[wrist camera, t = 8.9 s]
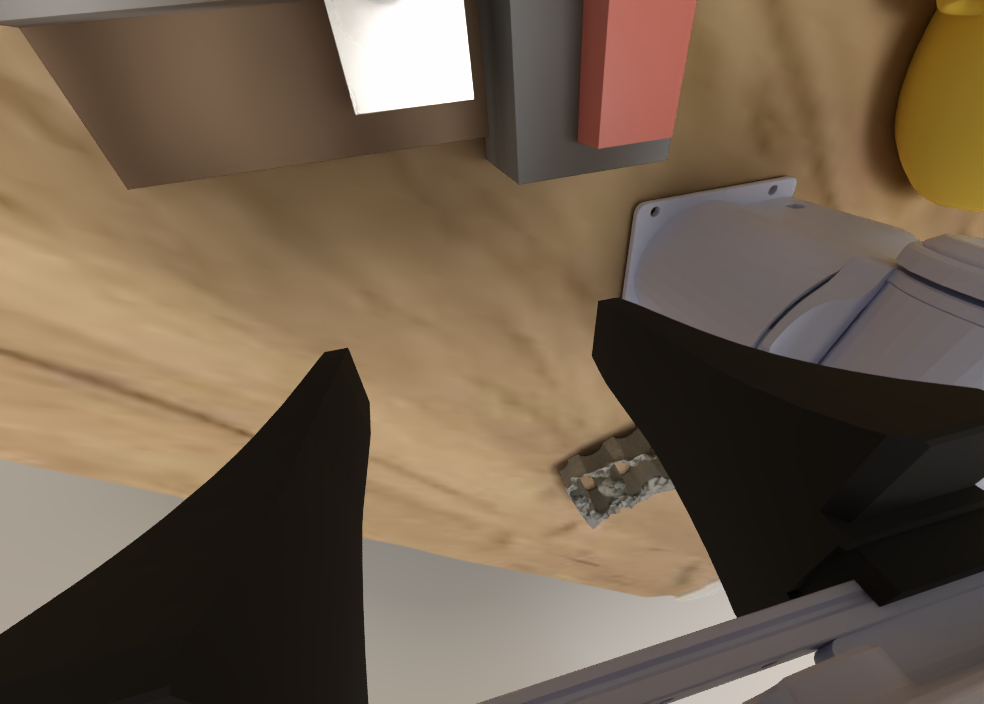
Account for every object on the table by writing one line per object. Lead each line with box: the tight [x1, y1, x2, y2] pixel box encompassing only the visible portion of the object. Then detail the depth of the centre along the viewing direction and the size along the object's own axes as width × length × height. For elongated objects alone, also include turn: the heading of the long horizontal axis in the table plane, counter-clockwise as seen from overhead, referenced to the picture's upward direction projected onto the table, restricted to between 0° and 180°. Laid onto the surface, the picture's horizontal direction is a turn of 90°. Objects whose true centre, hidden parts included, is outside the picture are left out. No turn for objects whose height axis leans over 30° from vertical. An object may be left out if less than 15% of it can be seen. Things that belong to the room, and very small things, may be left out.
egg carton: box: [560, 427, 675, 529], centre depth 32 cm, size 11×8×4 cm
